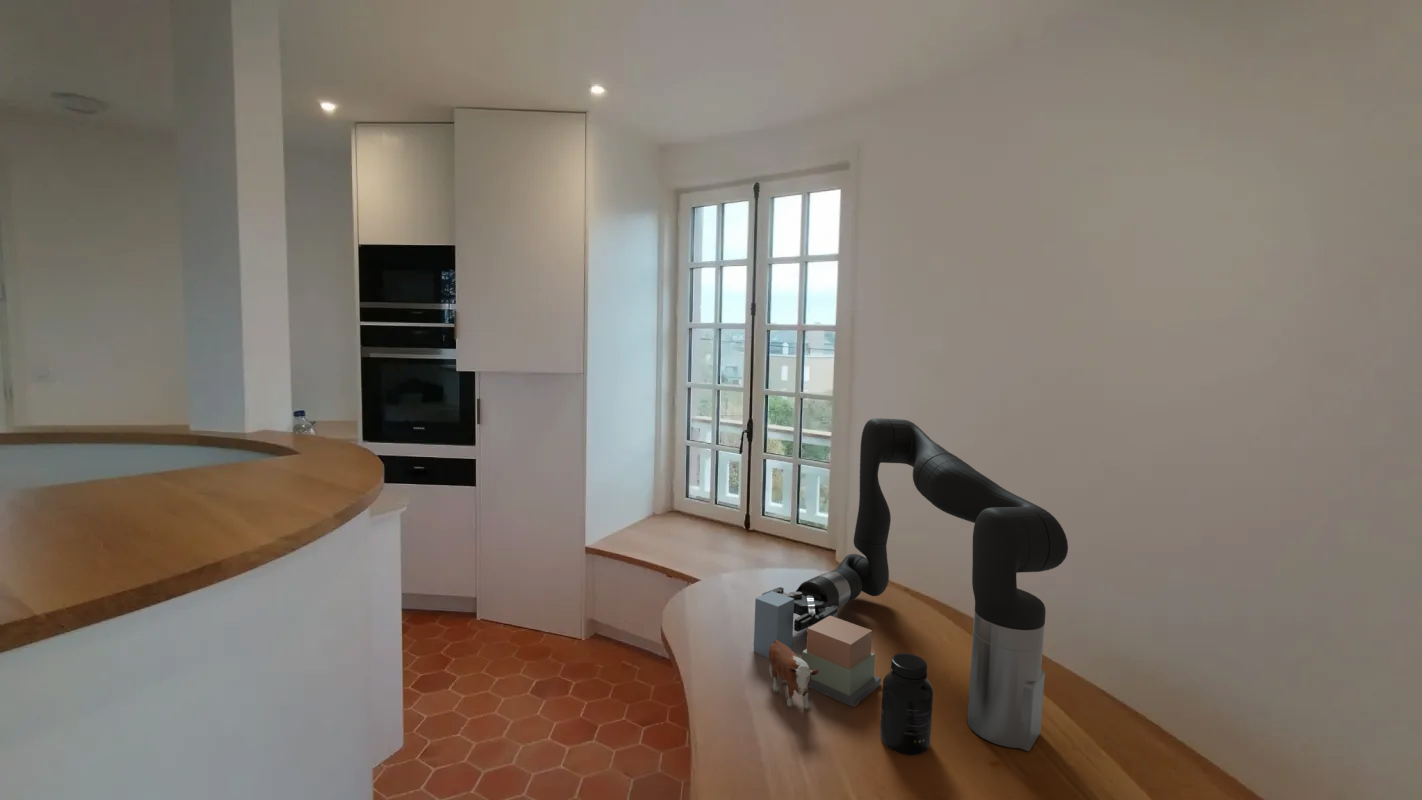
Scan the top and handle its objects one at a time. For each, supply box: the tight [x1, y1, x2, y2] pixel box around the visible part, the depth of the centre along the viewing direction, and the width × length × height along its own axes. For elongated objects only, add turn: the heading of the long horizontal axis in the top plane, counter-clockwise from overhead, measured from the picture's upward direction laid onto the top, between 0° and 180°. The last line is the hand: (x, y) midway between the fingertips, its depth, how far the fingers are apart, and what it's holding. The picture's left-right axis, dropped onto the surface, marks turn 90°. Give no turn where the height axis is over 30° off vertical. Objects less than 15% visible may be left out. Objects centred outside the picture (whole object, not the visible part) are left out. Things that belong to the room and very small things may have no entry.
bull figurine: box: [768, 640, 819, 711], centre depth 97 cm, size 4×13×8 cm, turn 15°
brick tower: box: [801, 616, 882, 708], centre depth 102 cm, size 11×9×9 cm
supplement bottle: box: [879, 652, 934, 757], centre depth 87 cm, size 7×7×12 cm
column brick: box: [753, 590, 795, 659], centre depth 112 cm, size 5×5×10 cm
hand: (776, 618), depth 113 cm, fingers open, 8 cm apart
